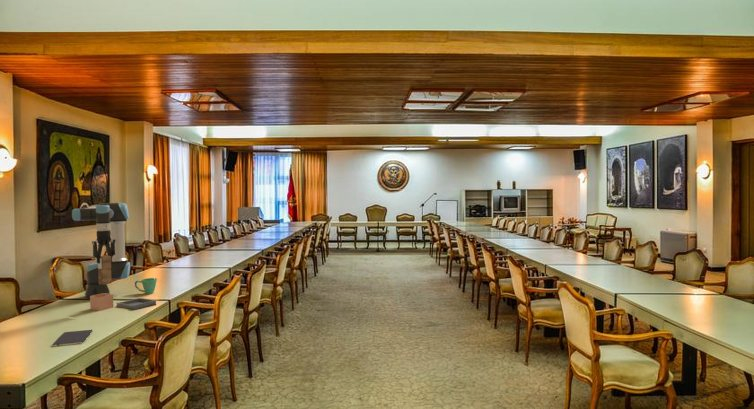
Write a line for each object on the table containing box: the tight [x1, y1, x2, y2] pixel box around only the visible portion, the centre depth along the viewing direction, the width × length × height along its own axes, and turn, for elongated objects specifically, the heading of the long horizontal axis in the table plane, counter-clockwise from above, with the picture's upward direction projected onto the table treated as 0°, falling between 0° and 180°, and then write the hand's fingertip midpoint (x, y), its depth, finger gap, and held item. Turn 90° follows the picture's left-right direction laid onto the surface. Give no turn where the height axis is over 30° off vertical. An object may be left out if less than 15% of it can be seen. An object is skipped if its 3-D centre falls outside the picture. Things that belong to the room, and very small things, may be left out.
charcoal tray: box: [116, 297, 157, 312], centre depth 307 cm, size 16×16×3 cm
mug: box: [134, 277, 158, 295], centre depth 346 cm, size 15×10×10 cm
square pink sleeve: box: [89, 293, 114, 311], centre depth 300 cm, size 9×9×9 cm
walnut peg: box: [98, 254, 112, 285], centre depth 300 cm, size 5×5×17 cm
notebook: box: [52, 329, 93, 347], centre depth 242 cm, size 13×2×21 cm
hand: (104, 267), depth 300 cm, fingers closed on walnut peg, 5 cm apart
